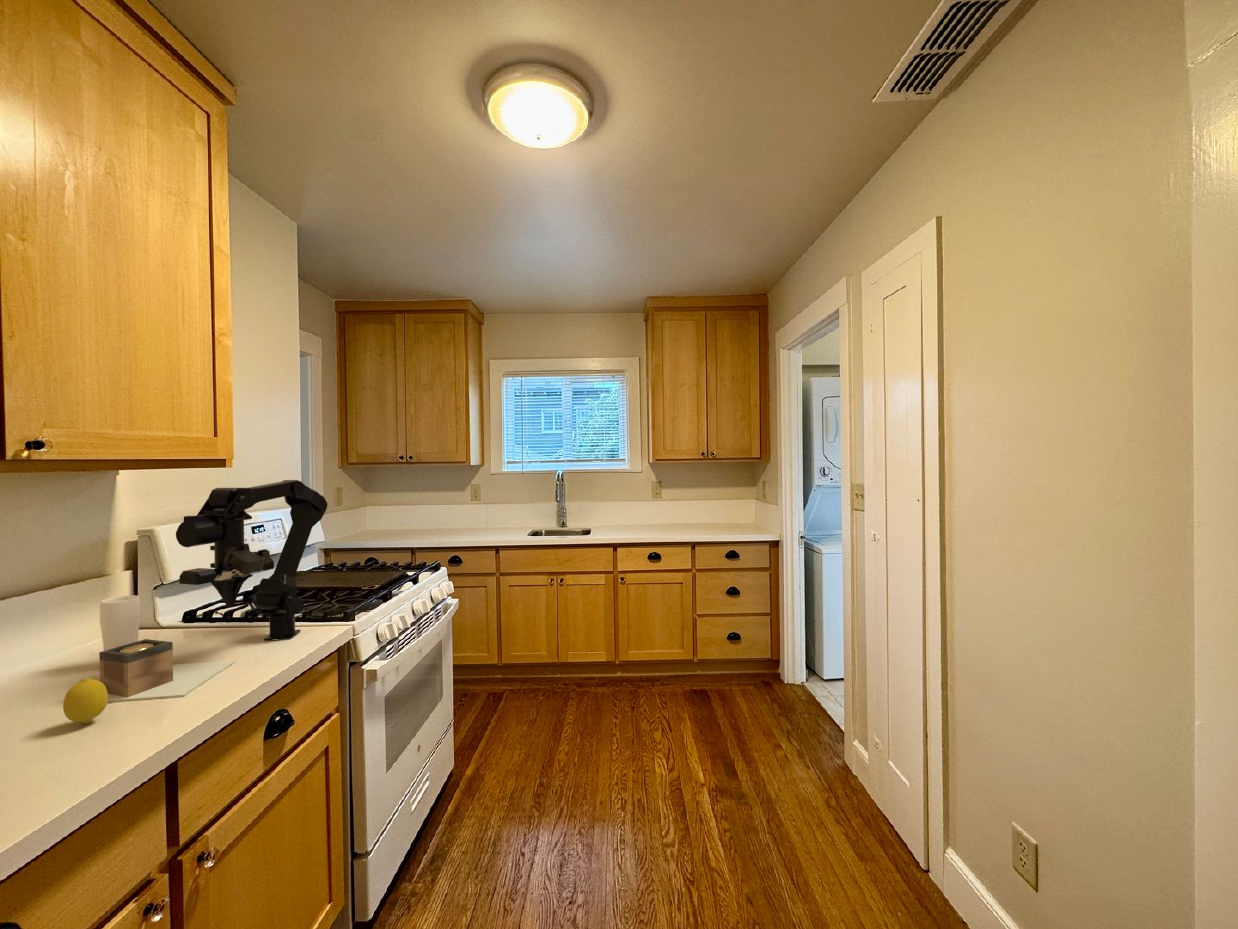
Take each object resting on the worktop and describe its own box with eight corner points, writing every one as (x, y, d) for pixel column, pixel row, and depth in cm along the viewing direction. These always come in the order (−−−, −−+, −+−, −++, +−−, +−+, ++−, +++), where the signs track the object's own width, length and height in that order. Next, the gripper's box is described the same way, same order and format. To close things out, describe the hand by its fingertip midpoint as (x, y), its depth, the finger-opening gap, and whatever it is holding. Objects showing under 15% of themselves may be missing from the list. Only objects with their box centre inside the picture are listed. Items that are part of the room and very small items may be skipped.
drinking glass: (95, 666, 119) (94, 600, 119) (133, 656, 125) (132, 594, 125) (108, 671, 116) (106, 604, 116) (146, 661, 122) (145, 597, 122)
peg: (142, 678, 110) (142, 642, 110) (159, 680, 109) (159, 644, 109) (114, 688, 105) (113, 650, 105) (131, 690, 104) (131, 653, 104)
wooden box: (146, 678, 112) (145, 639, 112) (173, 682, 110) (172, 642, 110) (100, 694, 104) (99, 652, 104) (128, 699, 102) (127, 655, 102)
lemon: (56, 734, 89) (55, 687, 89) (74, 720, 94) (73, 675, 94) (99, 727, 91) (98, 681, 91) (114, 713, 96) (113, 670, 96)
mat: (147, 668, 118) (147, 666, 118) (235, 662, 121) (235, 660, 121) (78, 704, 100) (78, 702, 100) (183, 696, 103) (183, 694, 103)
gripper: (214, 548, 113) (215, 620, 113) (290, 536, 131) (291, 598, 131) (177, 546, 116) (178, 616, 116) (256, 534, 134) (257, 596, 134)
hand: (230, 606), depth 124 cm, fingers closed
